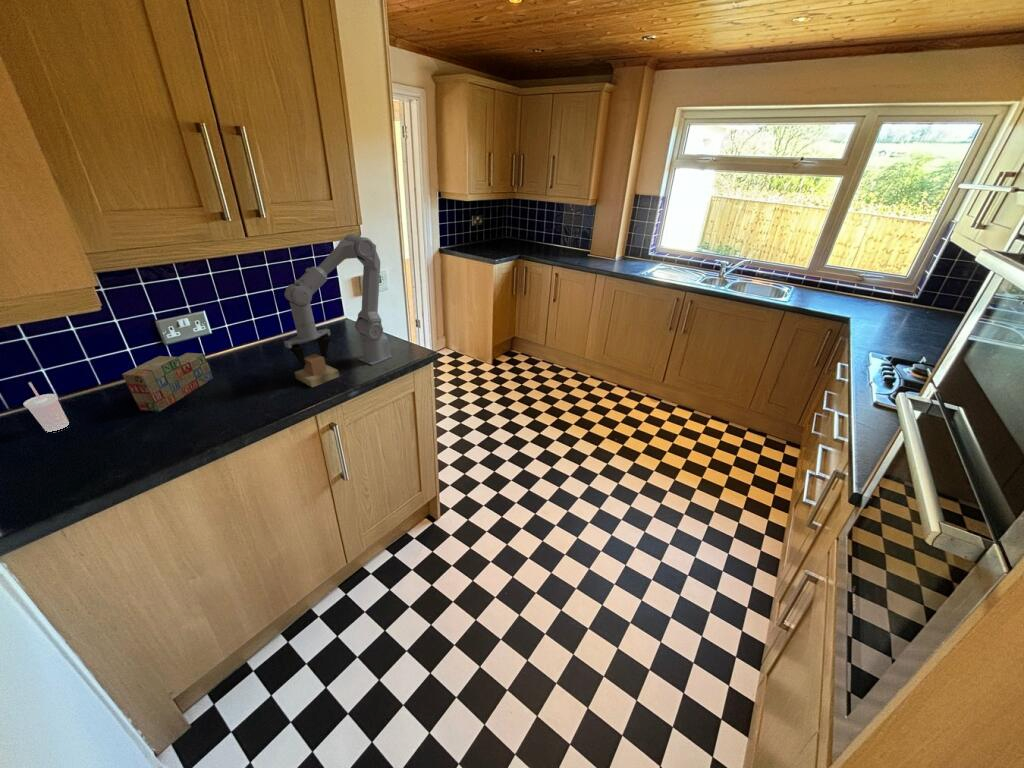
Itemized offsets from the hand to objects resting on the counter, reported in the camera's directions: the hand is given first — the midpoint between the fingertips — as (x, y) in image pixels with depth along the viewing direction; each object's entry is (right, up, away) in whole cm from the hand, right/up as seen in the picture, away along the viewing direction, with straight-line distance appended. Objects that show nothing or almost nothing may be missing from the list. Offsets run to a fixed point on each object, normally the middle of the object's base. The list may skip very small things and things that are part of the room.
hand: (313, 360), depth 134 cm
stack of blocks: (-39, -11, -8) cm, 41 cm away
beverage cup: (-57, -20, -25) cm, 66 cm away
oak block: (0, -6, +3) cm, 7 cm away
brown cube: (0, -3, +2) cm, 4 cm away
